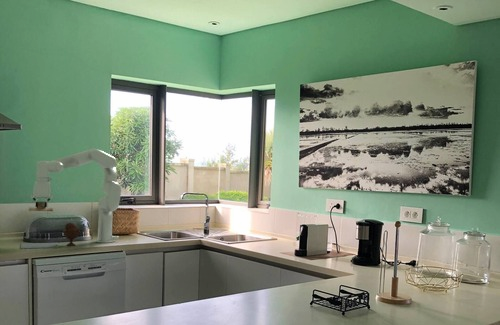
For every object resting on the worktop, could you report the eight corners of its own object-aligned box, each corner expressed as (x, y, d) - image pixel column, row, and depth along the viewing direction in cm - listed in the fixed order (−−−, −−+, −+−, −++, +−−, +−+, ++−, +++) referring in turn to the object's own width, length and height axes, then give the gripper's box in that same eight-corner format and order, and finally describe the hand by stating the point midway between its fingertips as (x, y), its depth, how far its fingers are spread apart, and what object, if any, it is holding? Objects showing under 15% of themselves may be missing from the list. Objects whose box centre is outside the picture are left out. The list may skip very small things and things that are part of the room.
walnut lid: (52, 209, 331) (52, 201, 331) (52, 211, 318) (53, 202, 318) (29, 208, 325) (29, 200, 325) (28, 210, 312) (29, 202, 312)
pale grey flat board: (57, 243, 334) (57, 242, 334) (58, 247, 318) (58, 247, 318) (21, 244, 326) (21, 243, 326) (20, 248, 309) (20, 247, 309)
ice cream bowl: (76, 247, 324) (77, 224, 324) (59, 246, 324) (60, 223, 324) (82, 244, 334) (83, 222, 334) (65, 243, 334) (66, 221, 334)
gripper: (56, 180, 329) (54, 208, 328) (28, 179, 322) (26, 207, 322) (56, 180, 322) (55, 209, 321) (28, 179, 315) (26, 208, 315)
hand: (41, 208), depth 322 cm, fingers closed on walnut lid, 4 cm apart
